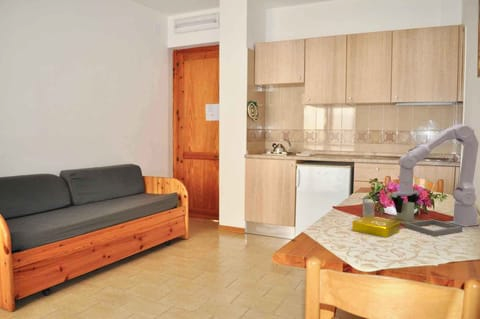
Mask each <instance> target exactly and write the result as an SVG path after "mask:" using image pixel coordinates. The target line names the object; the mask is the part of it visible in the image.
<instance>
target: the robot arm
mask: <svg viewBox="0 0 480 319" xmlns="http://www.w3.org/2000/svg"><path fill="white" fill-rule="evenodd" d="M451 140H456V141H458V142H459V143H460V145H462V146H463V150H462V151H463V152H462V159H461V166H460V171H459V173H460V174H459V179H458V180H459V181H458V182H457V183H456V186H455V189H454V191H453V193H452V197H453V199H454V203H453V204H454V206H453V220H452V221H451V220H450V221H448V223H449V224H453V225H457V226H461V227H472V226H478V225H479V223H478V216H479V215H478V214H479V212H478V211H479V210H478V207H477V206H476V205H475V204H474V203H475V202H476V200H477V195H476V187H475V186H474V178H475V171H476V163H477V159H478V158H477V157H478V151H479V141H478V138H477V136H476V134H475V130H474V128H472V127H471V126H470V125H468V124H466V123H465V124H463V123H462V124H453V125H451V126H450V127H447V128H446V129H444V130H443V131H442V132H440V133H439V134H438V135H436V136H435V137H433V139H431V140H430V141H428V142H427V143H425V144H424V143H423V144H416V145H415V148H413V149H412V150H410V151H407V152H406V154H404V155H402V156H400V158H399V160H398V165H399V178H398V179H399V180H398V190H397V191H393V192H391V199H392V202H393V204H394V208H395V212H396V213H397V212H398V213H401V210H402V203H403V201H405V197H406V199H407V200H406V201H409V202H413V203H414V208H415V207H416V204H417V202H418V200H419V199H420V195H419V193H420V191H419V190H415V189H414V168H415V167H416V165H417V163H419V162H421V161H422V160H424V159H425V158H427V157H428V156H429V155H430V154H431V151H432V150H433V149H435V148H437V147H438V146H440V145H441V144H443V143H445V142H446V141H451ZM413 189H414V190H413ZM403 197H404V198H403Z"/></svg>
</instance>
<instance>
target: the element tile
mask: <svg viewBox="0 0 480 319" xmlns="http://www.w3.org/2000/svg"><path fill="white" fill-rule="evenodd" d="M400 226H401V225H400V222H399V221H396V220H390V219H385V218H384V217H378V216H374V217H373V216H365V217H360V218H357V219H354V220H353V221H352V229H351V230H352V231H353V232H356V233H360V234H365V235H370V236H375V237H379V238H380V237H381V238H390V237H391V236H393V235H395V234H397V233H399V232H400V230H401V229H400V228H401V227H400Z"/></svg>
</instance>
